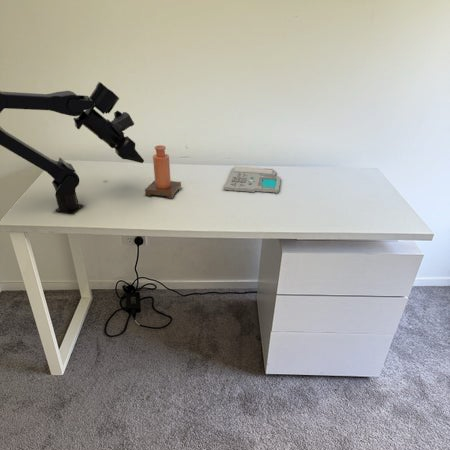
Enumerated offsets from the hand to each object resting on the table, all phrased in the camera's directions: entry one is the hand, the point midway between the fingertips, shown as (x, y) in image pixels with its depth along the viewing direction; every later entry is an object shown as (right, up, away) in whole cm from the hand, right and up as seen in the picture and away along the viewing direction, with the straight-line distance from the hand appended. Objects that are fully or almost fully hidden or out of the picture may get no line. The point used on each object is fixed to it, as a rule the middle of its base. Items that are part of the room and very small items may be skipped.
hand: (138, 157), depth 129 cm
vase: (+7, -6, +10) cm, 13 cm away
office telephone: (+40, -1, +21) cm, 46 cm away
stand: (+7, -8, +11) cm, 16 cm away
